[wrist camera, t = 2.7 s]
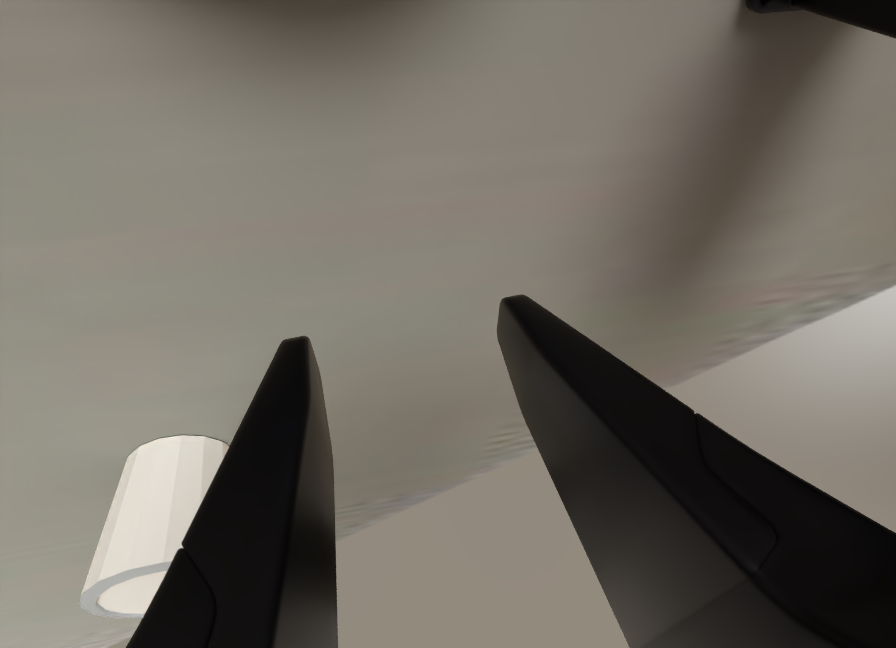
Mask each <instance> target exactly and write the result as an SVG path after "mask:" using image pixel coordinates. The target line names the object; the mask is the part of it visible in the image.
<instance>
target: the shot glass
mask: <svg viewBox="0 0 896 648" xmlns="http://www.w3.org/2000/svg"><path fill="white" fill-rule="evenodd" d="M228 448H229V446H228V445H226V444H225V443H224V442H222V441H219V440H215V439H212V438H208V437H205V436H186V435H180V436H173V437H167V438H160V439H157V440H154V441H152V442H149V443H146V444H144V445H141V446H139V447H138V448H137V449H136V450H135V451H134V452H132V453H131V454H130V455H129V456H128V458H127V461H126V464H125V467H124V470H123V473H122V476H121V479H120V481H119V484H118V487H117V490H116V493H115V496H114V499H113V502H112V505H111V508H110V511H109V514H108V517H107V520H106V523H105V526H104V529H103V532H102V535H101V538H100V540H99V543H98V546H97V549H96V552H95V555H94V558H93V561H92V564H91V567H90V570H89V573H88V576H87V579H86V582H85V585H84V588H83V591H82V594H81V599H80V605H79V606H80V607H82V608H83V609H85V610H86V611H87V612H89V613H90V614H93V615H98V616H103V617H108V618H113V619H142V618H143V616H144V614H145V613H146V611H147V609H148V607H149V605H150V603H151V601H152V599H153V597H154V596H155V594H156V592H157V590H158V588H159V586H160V584H161V582H162V580H163V578H164V576H165V574H166V572H167V570H168V568H169V566H170V564H171V562H172V560H173V558H174V556H175V554H176V552H177V550H178V549H180V548H183V546H182V541H183V539H184V537H185V535H186V533H187V531H188V529H189V527H190V525H191V523H192V521H193V518H194V516H195V514H196V512H197V510H198V508H199V506H200V504H201V502H202V500H203V498H204V496H205V494H206V492H207V490H208V488H209V486H210V484H211V482H212V480H213V478H214V476H215V474H216V472H217V470H218V468H219V466H220V464H221V462H222V460H223V458H224V456H225V454H226V452H227V450H228Z"/></svg>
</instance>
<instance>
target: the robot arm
mask: <svg viewBox="0 0 896 648" xmlns="http://www.w3.org/2000/svg"><path fill="white" fill-rule="evenodd" d="M746 6H747V8H748V9H749V10H751V11H754V12H758V13H770V12H782V11H795V10H806V11H809V12H812V13H816V14H819V15H822V16H825V17H828V18H832V19H835V20H838V21H841V22H844V23H848V24H851V25H854V26H857V27H860V28H864V29H867V30H870V31H873V32H876V33H880V34H883V35H886V36H889V37H893V38H896V0H746ZM497 337H498V341H499V345H500V348H501V351H502V354H503V357H504V360H505V363H506V366H507V369H508V372H509V375H510V379H511V382H512V385H513V388H514V391H515V394H516V397H517V400H518V403H519V406H520V409H521V412H522V414H523V417H524V419H525V421H526V424H527V426H528V428H529V430H530V432H531V435H532V437H533V439H534V441H535V443H536V446H537V448H538V450H539V452H540V454H541V456H542V459H543V461H544V463H545V465H546V467H547V469H548V472H549V474H550V475H551V478H552V480H553V482H554V484H555V487H556V489H557V491H558V493H559V495H560V497H561V500H562V502H563V504H564V506H565V508H566V511H567V513H568V515H569V517H570V519H571V521H572V523H573V526H574V528H575V530H576V532H577V534H578V536H579V539H580V541H581V543H582V545H583V547H584V550H585V552H586V554H587V556H588V558H589V560H590V563H591V565H592V567H593V569H594V571H595V573H596V575H597V578H598V580H599V582H600V584H601V586H602V589H603V591H604V593H605V595H606V597H607V599H608V602H609V604H610V606H611V608H612V610H613V612H614V615H615V617H616V619H617V621H618V623H619V625H620V628H621V630H622V632H623V634H624V636H625V638H626V641H627V643H628V645H629V647H630V648H896V533H895V532H893V531H891V530H889V529H887V528H886V527H884V526H882V525H880V524H879V523H877V522H875V521H873V520H872V519H870V518H868V517H866V516H865V515H863V514H861V513H860V512H858V511H856V510H854V509H853V508H851V507H849V506H848V505H846V504H844V503H842V502H841V501H839V500H837V499H835V498H834V497H832V496H830V495H829V494H827V493H825V492H823V491H821V490H820V489H818V488H816V487H815V486H813V485H811V484H810V483H808V482H806V481H804V480H803V479H801V478H799V477H798V476H796V475H794V474H792V473H790V472H789V471H787V470H786V469H784V468H782V467H780V466H779V465H777V464H776V463H774V462H772V461H771V460H769V459H767V458H766V457H764V456H763V455H761V454H759V453H757V452H756V451H754V450H753V449H751V448H749V447H748V446H747V445H745V444H743V443H742V442H740V441H739V440H737V439H736V438H734V437H733V436H731V435H730V434H728V433H727V432H725V431H724V430H722V429H721V428H719V427H718V426H716V425H715V424H713V423H712V422H710V421H709V420H707V419H706V418H705V417H703V416H702V415H700V414H698V413H696V414H694V411H693V410H692V409H691V408H690V407H688V406H687V405H685V404H684V403H682V402H681V401H679V400H678V399H676V398H675V397H673V396H672V395H671V394H669V393H668V392H666V391H665V390H663V389H662V388H660V387H659V386H657V385H656V384H655V383H653V382H652V381H650V380H649V379H647V378H646V377H644V376H643V375H641V374H640V373H638V372H637V371H636V370H634V369H633V368H631V367H630V366H628V365H627V364H625V363H624V362H622V361H621V360H619V359H618V358H617V357H615V356H614V355H612V354H611V353H609V352H608V351H606V350H605V349H603V348H602V347H600V346H599V345H598V344H596V343H595V342H593V341H592V340H590V339H589V338H587V337H586V336H584V335H583V334H581V333H580V332H578V331H577V330H576V329H574V328H573V327H571V326H570V325H568V324H567V323H565V322H564V321H562V320H561V319H559V318H558V317H557V316H555V315H554V314H552V313H551V312H549V311H548V310H546V309H545V308H543V307H542V306H540V305H539V304H538V303H536V302H535V301H533V300H532V299H530V298H529V297H527V296H525V295H516V296H510V297H505V298H503V299H502V300H501V302H500V308H499V316H498V325H497ZM182 546H183V548H180V549H178V550H177V552H176V554H175V556H174V558H173V560H172V562H171V564H170V566H169V568H168V570H167V572H166V574H165V576H164V578H163V580H162V582H161V584H160V586H159V588H158V590H157V592H156V594H155V596H154V597H153V599H152V601H151V603H150V605H149V607H148V609H147V611H146V613H145V614H144V616H143V618H142V620H141V622H140V624H139V626H138V628H137V629H136V631H135V633H134V634H133V636H132V638H131V640H130V641H129V643H128V645H127V646H126V648H338V631H337V630H338V629H337V591H336V590H337V587H336V549H335V548H336V547H335V506H334V469H333V455H332V447H331V440H330V434H329V427H328V421H327V414H326V408H325V401H324V395H323V389H322V382H321V376H320V371H319V367H318V364H317V361H316V358H315V355H314V351H313V348H312V345H311V342H310V339H309V338H308V337H307V336H300V337H295V338H290V339H285V340H283V341H282V342H281V344H280V346H279V348H278V350H277V352H276V354H275V356H274V358H273V360H272V362H271V364H270V366H269V368H268V370H267V372H266V374H265V376H264V378H263V380H262V382H261V384H260V386H259V388H258V390H257V392H256V394H255V396H254V398H253V400H252V402H251V404H250V406H249V408H248V410H247V412H246V414H245V416H244V418H243V420H242V422H241V424H240V426H239V428H238V430H237V432H236V434H235V436H234V438H233V440H232V442H231V444H230V446H229V448H228V450H227V452H226V454H225V456H224V458H223V460H222V462H221V464H220V466H219V468H218V470H217V472H216V474H215V476H214V478H213V480H212V482H211V484H210V486H209V488H208V490H207V492H206V494H205V496H204V498H203V500H202V502H201V504H200V506H199V508H198V510H197V512H196V514H195V516H194V518H193V521H192V523H191V525H190V527H189V529H188V531H187V533H186V535H185V537H184V539H183V541H182Z"/></svg>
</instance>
